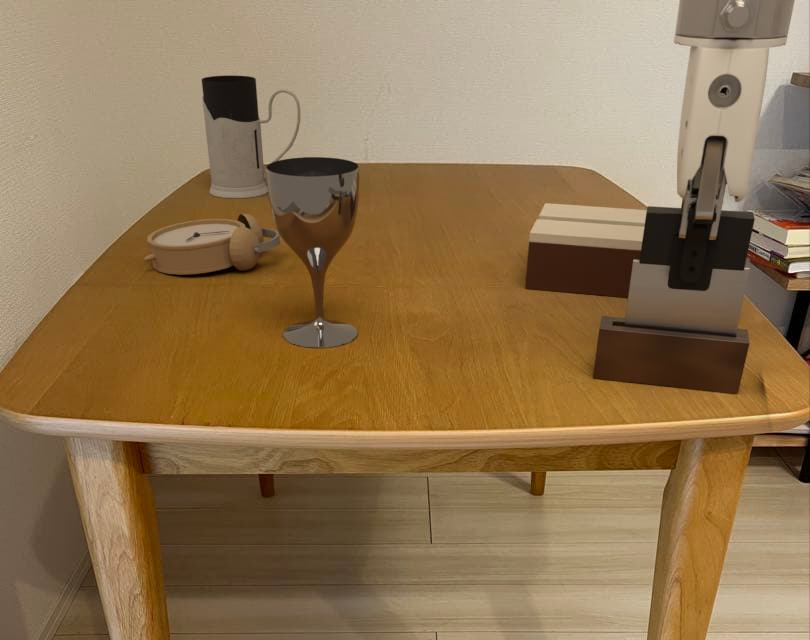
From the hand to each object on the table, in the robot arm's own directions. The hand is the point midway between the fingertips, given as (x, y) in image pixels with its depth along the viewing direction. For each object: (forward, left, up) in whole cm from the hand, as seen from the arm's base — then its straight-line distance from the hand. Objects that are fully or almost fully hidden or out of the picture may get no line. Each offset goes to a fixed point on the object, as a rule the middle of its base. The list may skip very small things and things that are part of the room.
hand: (687, 281), depth 71 cm
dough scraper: (0, 0, -6) cm, 6 cm away
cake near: (+9, -23, -8) cm, 26 cm away
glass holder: (+60, -54, -9) cm, 81 cm away
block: (0, 0, -8) cm, 8 cm away
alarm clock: (+51, -20, -9) cm, 56 cm away
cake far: (+9, -31, -8) cm, 33 cm away
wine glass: (+32, -2, -9) cm, 34 cm away
